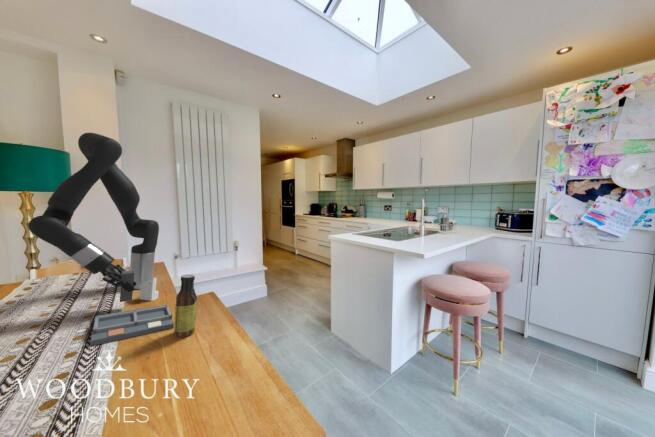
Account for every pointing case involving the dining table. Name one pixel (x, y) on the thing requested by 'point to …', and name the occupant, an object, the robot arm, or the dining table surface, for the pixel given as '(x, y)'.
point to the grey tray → (130, 324)
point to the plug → (129, 278)
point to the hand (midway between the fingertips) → (133, 287)
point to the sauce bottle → (185, 307)
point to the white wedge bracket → (148, 290)
